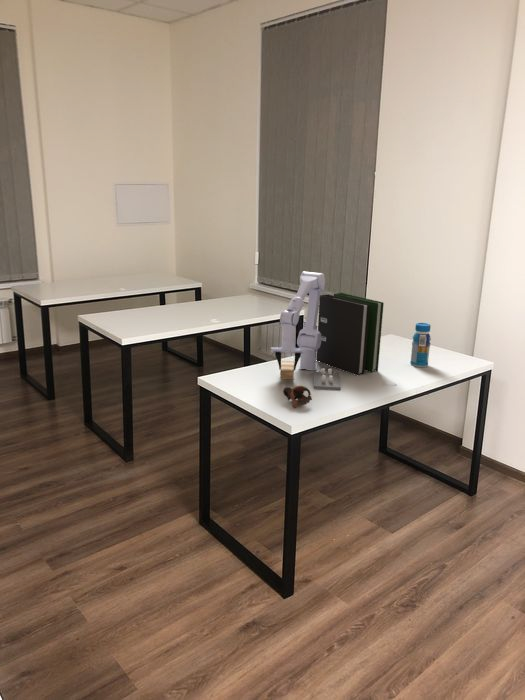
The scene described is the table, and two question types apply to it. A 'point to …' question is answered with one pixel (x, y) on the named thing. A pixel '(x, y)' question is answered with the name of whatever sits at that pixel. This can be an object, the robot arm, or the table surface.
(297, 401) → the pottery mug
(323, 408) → the table surface
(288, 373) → the shelf board
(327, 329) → the binder
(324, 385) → the peg stand
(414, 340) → the beverage bottle
